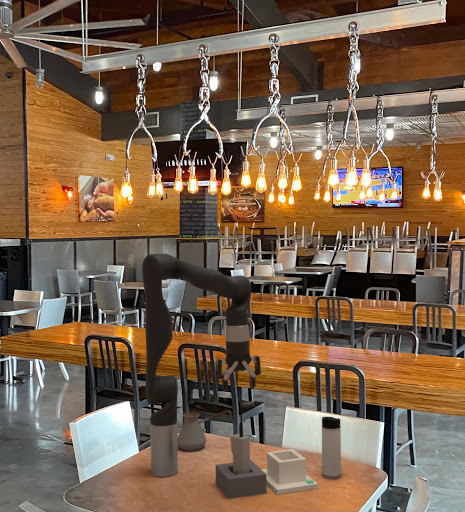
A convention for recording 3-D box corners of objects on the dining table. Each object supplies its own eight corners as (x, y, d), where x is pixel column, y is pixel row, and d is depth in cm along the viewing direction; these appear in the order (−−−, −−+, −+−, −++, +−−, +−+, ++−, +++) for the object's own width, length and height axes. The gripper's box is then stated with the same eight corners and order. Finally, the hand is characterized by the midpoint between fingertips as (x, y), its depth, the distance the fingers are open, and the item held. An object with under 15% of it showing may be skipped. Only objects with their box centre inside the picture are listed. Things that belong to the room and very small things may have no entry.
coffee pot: (173, 452, 233) (173, 412, 233) (180, 442, 244) (179, 404, 244) (229, 453, 230) (229, 413, 230) (233, 444, 242) (233, 406, 242)
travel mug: (317, 476, 207) (317, 417, 206) (329, 471, 212) (328, 413, 211) (333, 481, 202) (333, 420, 202) (344, 475, 207) (344, 416, 207)
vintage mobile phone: (237, 484, 201) (236, 408, 200) (250, 487, 198) (249, 410, 197) (230, 488, 198) (229, 410, 197) (243, 491, 195) (242, 412, 194)
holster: (215, 483, 202) (215, 464, 202) (251, 478, 206) (251, 460, 206) (228, 498, 189) (228, 479, 189) (266, 493, 193) (266, 474, 193)
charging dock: (256, 474, 209) (256, 449, 209) (294, 469, 214) (294, 444, 213) (277, 494, 192) (277, 467, 192) (317, 488, 197) (317, 461, 196)
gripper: (255, 335, 200) (256, 385, 201) (212, 339, 196) (214, 389, 196) (262, 338, 193) (264, 390, 193) (218, 342, 189) (220, 395, 189)
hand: (239, 390), depth 195 cm, fingers open, 8 cm apart
